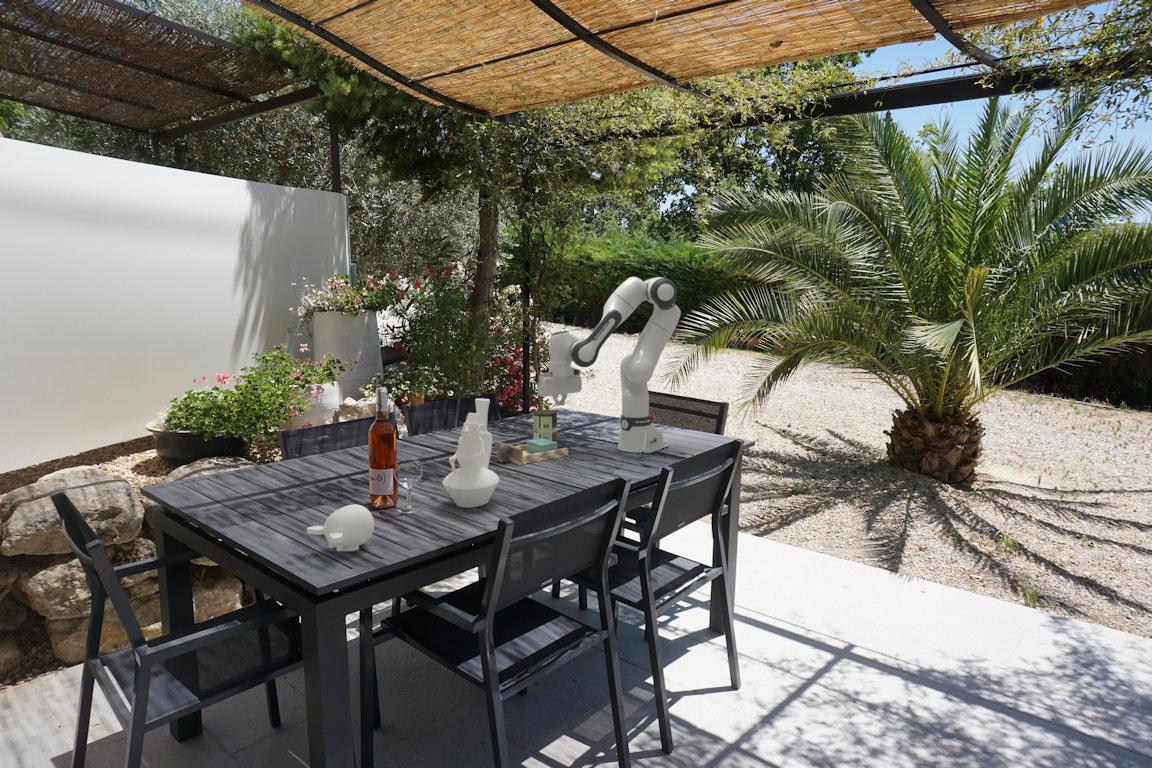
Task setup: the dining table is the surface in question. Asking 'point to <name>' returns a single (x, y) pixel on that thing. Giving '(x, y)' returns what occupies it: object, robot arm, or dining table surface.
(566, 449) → the bay
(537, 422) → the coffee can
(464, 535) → the dining table surface
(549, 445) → the teal rectangular box
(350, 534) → the piggy bank
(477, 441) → the white sculpted vase
